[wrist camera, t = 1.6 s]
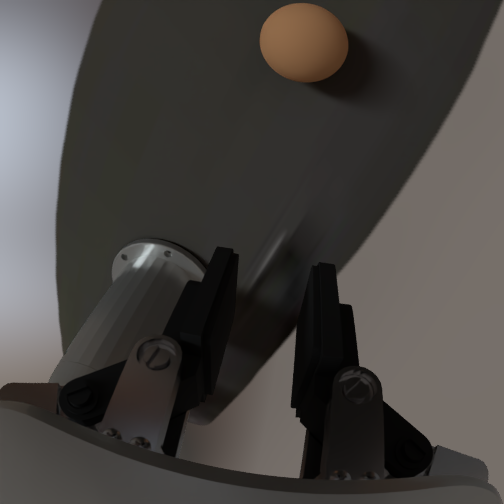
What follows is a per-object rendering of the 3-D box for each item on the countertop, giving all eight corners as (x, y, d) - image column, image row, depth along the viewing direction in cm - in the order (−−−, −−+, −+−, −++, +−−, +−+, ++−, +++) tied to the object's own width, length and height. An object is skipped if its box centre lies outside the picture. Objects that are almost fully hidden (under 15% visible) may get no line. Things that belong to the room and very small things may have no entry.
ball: (325, 93, 22) (333, 99, 17) (253, 65, 21) (240, 63, 16) (353, 30, 18) (369, 18, 13) (280, 1, 18) (274, -19, 13)
